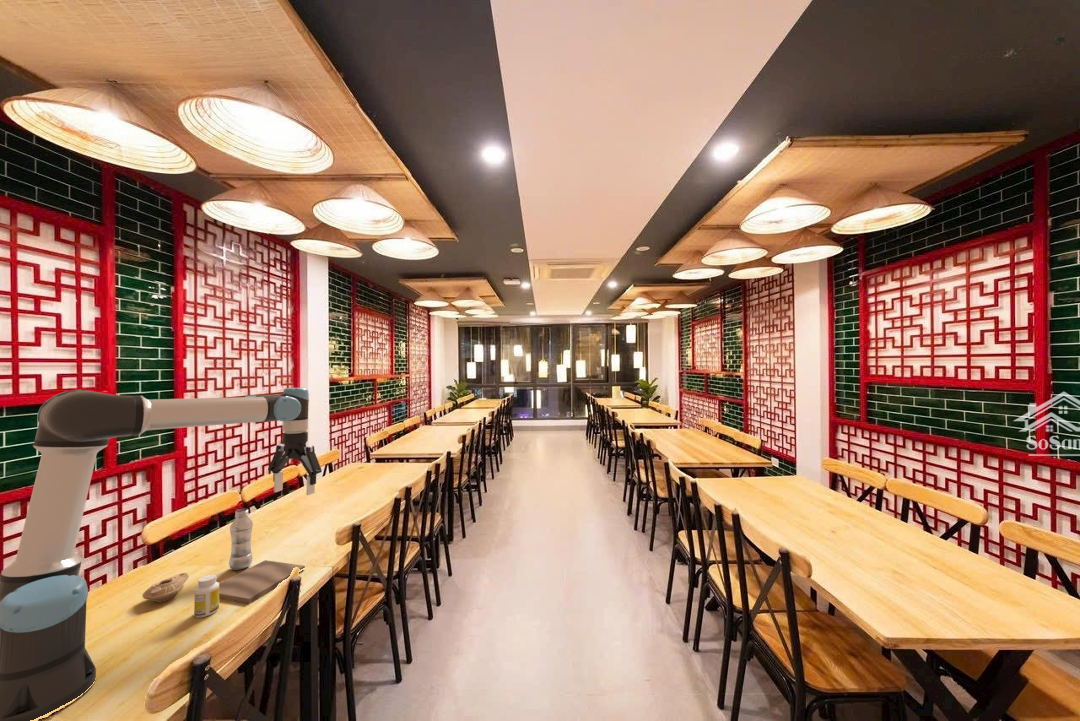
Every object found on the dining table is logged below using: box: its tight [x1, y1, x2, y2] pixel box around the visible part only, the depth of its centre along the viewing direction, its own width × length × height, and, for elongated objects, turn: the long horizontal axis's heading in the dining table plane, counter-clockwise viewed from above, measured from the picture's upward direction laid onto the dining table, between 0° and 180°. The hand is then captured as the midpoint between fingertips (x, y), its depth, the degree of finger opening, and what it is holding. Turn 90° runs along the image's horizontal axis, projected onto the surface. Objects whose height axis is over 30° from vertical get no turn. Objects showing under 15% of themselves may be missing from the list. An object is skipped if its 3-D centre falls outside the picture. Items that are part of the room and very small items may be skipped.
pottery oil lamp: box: [142, 572, 189, 602], centre depth 119 cm, size 9×12×7 cm
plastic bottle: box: [228, 508, 254, 571], centre depth 135 cm, size 6×7×20 cm
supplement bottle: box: [193, 573, 220, 619], centre depth 110 cm, size 5×5×10 cm
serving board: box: [219, 559, 306, 605], centre depth 126 cm, size 20×17×2 cm
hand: (294, 492), depth 134 cm, fingers open, 13 cm apart
